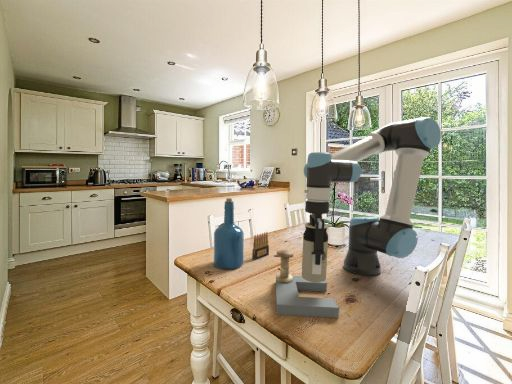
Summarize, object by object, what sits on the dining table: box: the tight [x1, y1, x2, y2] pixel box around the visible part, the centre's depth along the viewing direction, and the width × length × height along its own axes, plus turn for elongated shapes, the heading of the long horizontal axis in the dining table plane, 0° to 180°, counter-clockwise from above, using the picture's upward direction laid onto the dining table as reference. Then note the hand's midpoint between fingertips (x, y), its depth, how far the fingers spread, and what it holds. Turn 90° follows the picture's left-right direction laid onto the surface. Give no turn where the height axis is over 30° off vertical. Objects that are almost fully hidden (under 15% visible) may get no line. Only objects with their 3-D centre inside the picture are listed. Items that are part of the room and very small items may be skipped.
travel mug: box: [301, 222, 329, 283], centre depth 85 cm, size 8×8×18 cm
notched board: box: [275, 274, 340, 319], centre depth 86 cm, size 18×22×3 cm
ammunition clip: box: [251, 231, 270, 261], centre depth 126 cm, size 11×2×12 cm, turn 139°
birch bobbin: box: [275, 249, 294, 283], centre depth 93 cm, size 6×6×10 cm
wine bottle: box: [213, 197, 245, 270], centre depth 114 cm, size 14×13×30 cm
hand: (314, 268), depth 85 cm, fingers closed on travel mug, 8 cm apart
